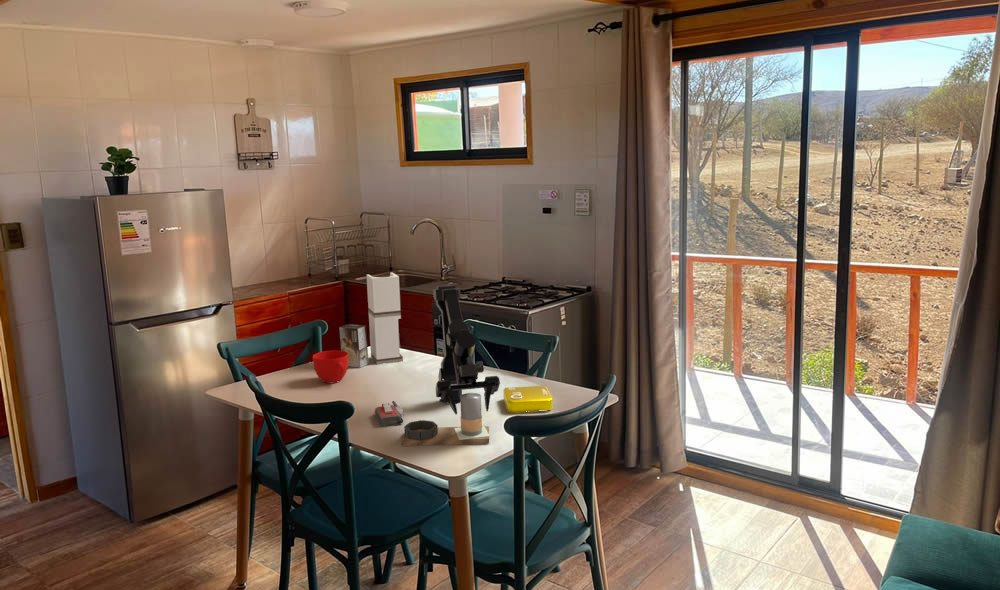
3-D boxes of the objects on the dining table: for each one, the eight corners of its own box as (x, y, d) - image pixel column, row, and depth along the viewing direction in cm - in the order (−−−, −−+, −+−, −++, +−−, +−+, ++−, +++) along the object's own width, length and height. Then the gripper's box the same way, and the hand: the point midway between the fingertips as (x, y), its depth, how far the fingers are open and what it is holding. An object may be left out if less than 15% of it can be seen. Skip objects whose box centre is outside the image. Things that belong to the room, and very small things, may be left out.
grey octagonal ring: (422, 425, 223) (421, 417, 222) (444, 433, 216) (444, 424, 216) (397, 435, 216) (397, 426, 215) (420, 442, 209) (419, 434, 209)
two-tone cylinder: (465, 427, 220) (463, 392, 218) (485, 429, 218) (484, 393, 216) (458, 435, 214) (456, 398, 212) (478, 436, 212) (477, 400, 210)
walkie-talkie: (409, 425, 229) (396, 405, 247) (409, 411, 228) (396, 392, 246) (381, 429, 226) (370, 408, 244) (380, 415, 225) (369, 396, 243)
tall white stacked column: (402, 361, 299) (398, 276, 292) (377, 364, 295) (372, 278, 288) (396, 354, 309) (392, 272, 302) (371, 357, 305) (366, 274, 299)
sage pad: (454, 428, 219) (454, 428, 219) (483, 425, 221) (483, 425, 221) (459, 439, 211) (459, 439, 211) (490, 436, 213) (490, 435, 213)
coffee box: (369, 363, 296) (367, 325, 293) (360, 368, 290) (358, 328, 287) (350, 361, 300) (348, 323, 297) (341, 366, 294) (338, 326, 291)
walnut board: (402, 445, 211) (402, 441, 211) (406, 433, 221) (405, 428, 221) (489, 443, 212) (489, 438, 211) (489, 430, 221) (488, 426, 221)
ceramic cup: (327, 391, 263) (325, 364, 261) (308, 380, 276) (307, 354, 274) (360, 383, 270) (358, 357, 268) (341, 373, 284) (339, 348, 282)
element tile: (553, 412, 237) (553, 398, 237) (507, 414, 236) (507, 400, 235) (546, 397, 252) (546, 384, 251) (502, 399, 251) (502, 386, 250)
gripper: (435, 354, 213) (442, 403, 205) (497, 349, 218) (507, 396, 209) (432, 373, 222) (439, 420, 214) (492, 367, 227) (501, 413, 218)
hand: (472, 412), depth 214 cm, fingers open, 9 cm apart
